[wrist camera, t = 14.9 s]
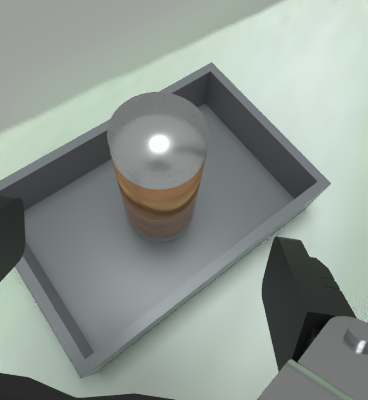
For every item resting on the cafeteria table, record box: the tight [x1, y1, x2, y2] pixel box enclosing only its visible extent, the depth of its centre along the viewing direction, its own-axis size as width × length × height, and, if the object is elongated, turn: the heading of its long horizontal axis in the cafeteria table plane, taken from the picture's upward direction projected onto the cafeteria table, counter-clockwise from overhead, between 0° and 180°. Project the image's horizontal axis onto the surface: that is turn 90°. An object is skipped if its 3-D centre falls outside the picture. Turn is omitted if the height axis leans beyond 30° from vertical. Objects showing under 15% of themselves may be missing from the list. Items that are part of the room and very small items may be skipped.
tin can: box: [107, 92, 209, 243], centre depth 27 cm, size 6×6×13 cm
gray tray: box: [0, 62, 331, 378], centre depth 31 cm, size 24×16×6 cm, turn 127°
